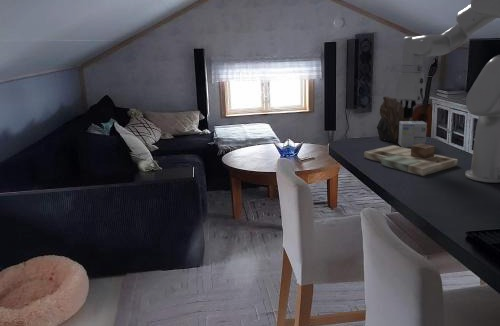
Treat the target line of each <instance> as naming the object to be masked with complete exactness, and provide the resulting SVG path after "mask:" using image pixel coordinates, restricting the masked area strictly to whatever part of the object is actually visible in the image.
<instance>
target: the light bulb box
mask: <svg viewBox="0 0 500 326" xmlns="http://www.w3.org/2000/svg"><path fill="white" fill-rule="evenodd" d="M427 127H428V123H427V122H425V121H423V120H420V121H419V120H415V121H414V120H411V121H410V120H409V121H399V137H398V142H397V145H398V144H399V145H400V146H401V147H403V148H411V147H412V145H417V144H426V140H427V129H428V128H427ZM399 145H398V146H399ZM400 146H399V147H400Z"/></svg>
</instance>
